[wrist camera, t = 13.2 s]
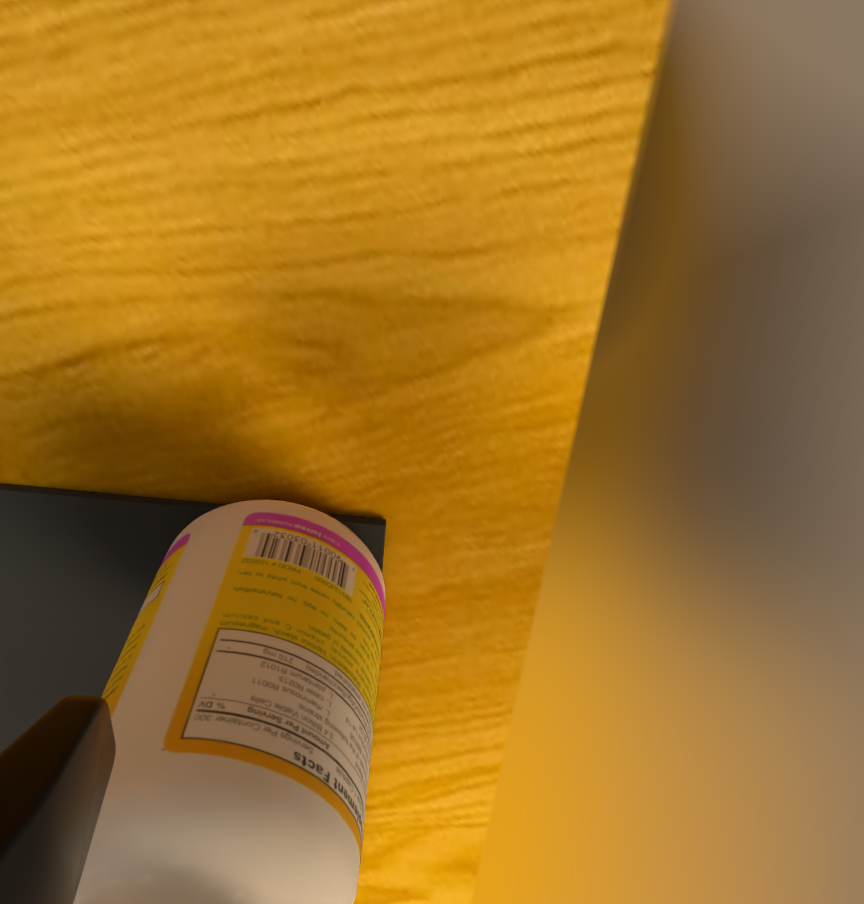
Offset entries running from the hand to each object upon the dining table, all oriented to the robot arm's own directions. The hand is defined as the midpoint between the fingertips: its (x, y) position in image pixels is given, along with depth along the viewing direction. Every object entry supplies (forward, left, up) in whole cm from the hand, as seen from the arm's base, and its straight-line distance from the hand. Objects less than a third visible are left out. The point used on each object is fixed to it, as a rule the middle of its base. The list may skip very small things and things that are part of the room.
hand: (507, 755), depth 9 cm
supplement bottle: (+5, +9, -13) cm, 17 cm away
